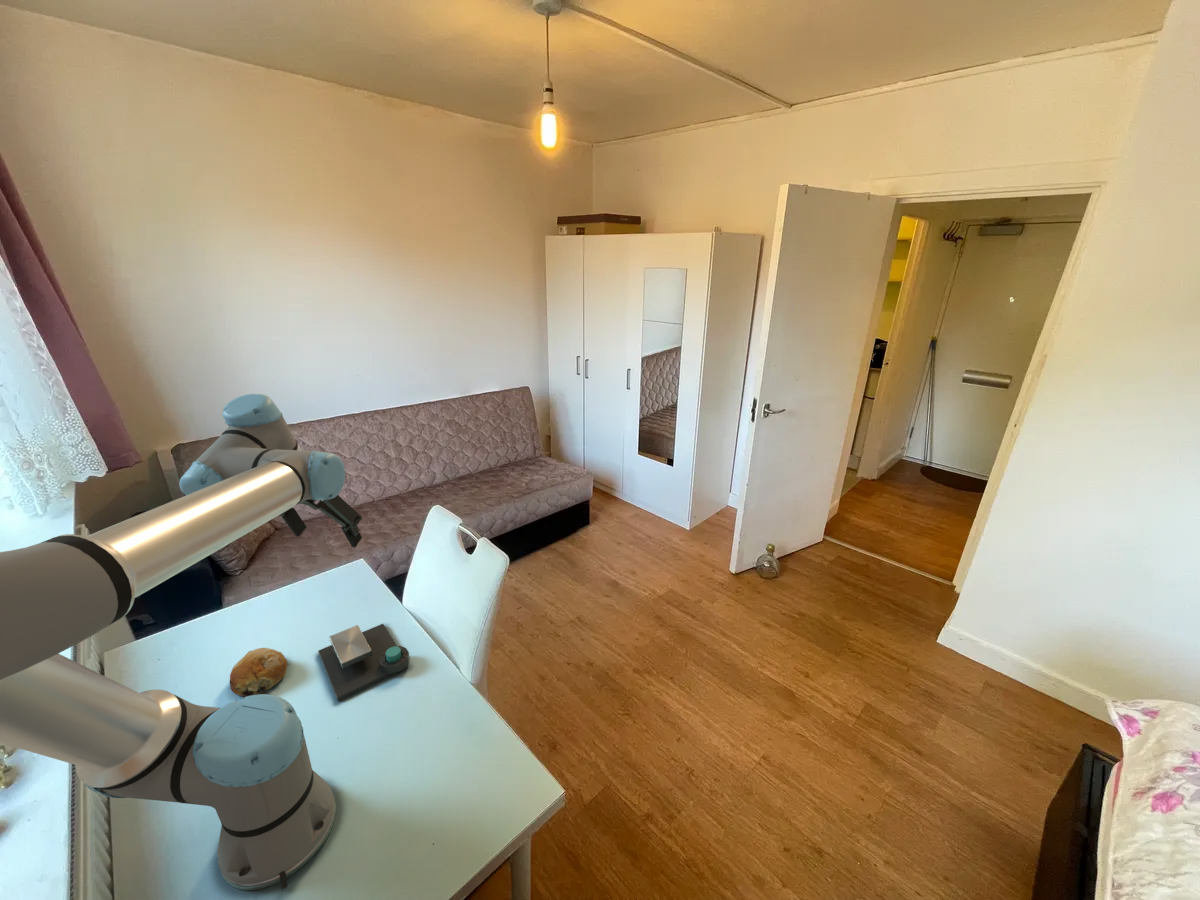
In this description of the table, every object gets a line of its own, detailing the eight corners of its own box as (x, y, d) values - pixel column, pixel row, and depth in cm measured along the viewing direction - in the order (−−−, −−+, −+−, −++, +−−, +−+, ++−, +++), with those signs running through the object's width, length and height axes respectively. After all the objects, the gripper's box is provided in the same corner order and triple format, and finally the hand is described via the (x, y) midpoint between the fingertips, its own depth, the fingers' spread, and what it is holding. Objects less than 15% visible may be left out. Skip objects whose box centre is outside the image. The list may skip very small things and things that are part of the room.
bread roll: (297, 681, 106) (301, 644, 107) (260, 702, 96) (265, 661, 96) (254, 677, 107) (258, 640, 107) (214, 697, 97) (218, 656, 97)
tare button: (403, 658, 105) (402, 652, 105) (389, 665, 103) (388, 658, 103) (398, 650, 107) (397, 644, 107) (384, 656, 106) (383, 650, 105)
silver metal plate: (372, 655, 105) (371, 650, 105) (342, 669, 102) (341, 663, 101) (358, 629, 112) (357, 624, 112) (330, 641, 109) (329, 636, 108)
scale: (414, 668, 106) (412, 658, 105) (339, 705, 97) (336, 694, 96) (387, 625, 118) (386, 615, 117) (319, 654, 109) (316, 644, 108)
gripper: (357, 464, 92) (390, 532, 107) (243, 445, 96) (289, 514, 110) (333, 493, 87) (371, 561, 101) (213, 472, 90) (266, 540, 105)
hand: (329, 537), depth 106 cm, fingers open, 13 cm apart
